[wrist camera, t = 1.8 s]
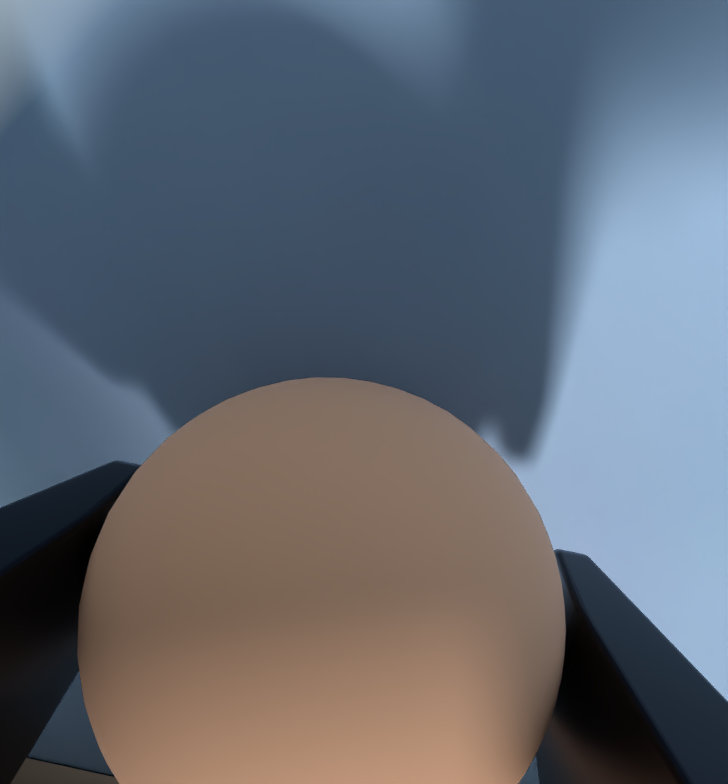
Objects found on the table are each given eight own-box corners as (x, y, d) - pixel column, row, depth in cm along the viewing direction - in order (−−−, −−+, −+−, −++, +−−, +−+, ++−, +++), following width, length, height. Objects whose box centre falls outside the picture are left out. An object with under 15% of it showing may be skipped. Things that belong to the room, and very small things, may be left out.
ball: (485, 641, 10) (514, 1064, 6) (179, 577, 11) (-17, 943, 6) (580, 355, 8) (741, 685, 4) (193, 281, 8) (-98, 511, 4)
